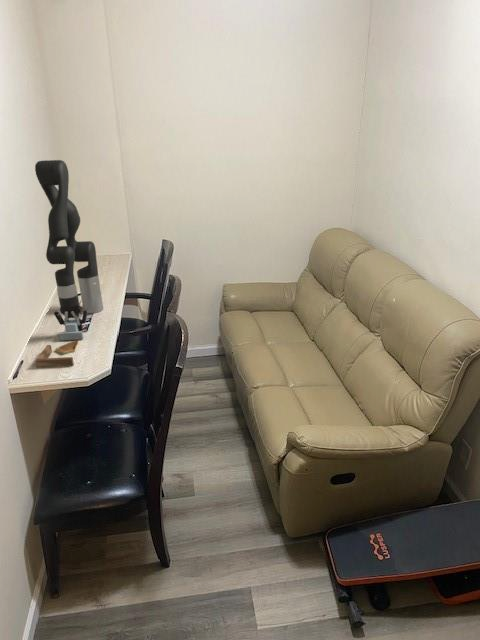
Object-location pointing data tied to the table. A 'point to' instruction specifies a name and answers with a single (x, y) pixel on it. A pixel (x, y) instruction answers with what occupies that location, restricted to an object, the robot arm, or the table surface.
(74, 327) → the grey inverted t block
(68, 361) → the corner fence
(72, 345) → the shard
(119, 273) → the table surface
